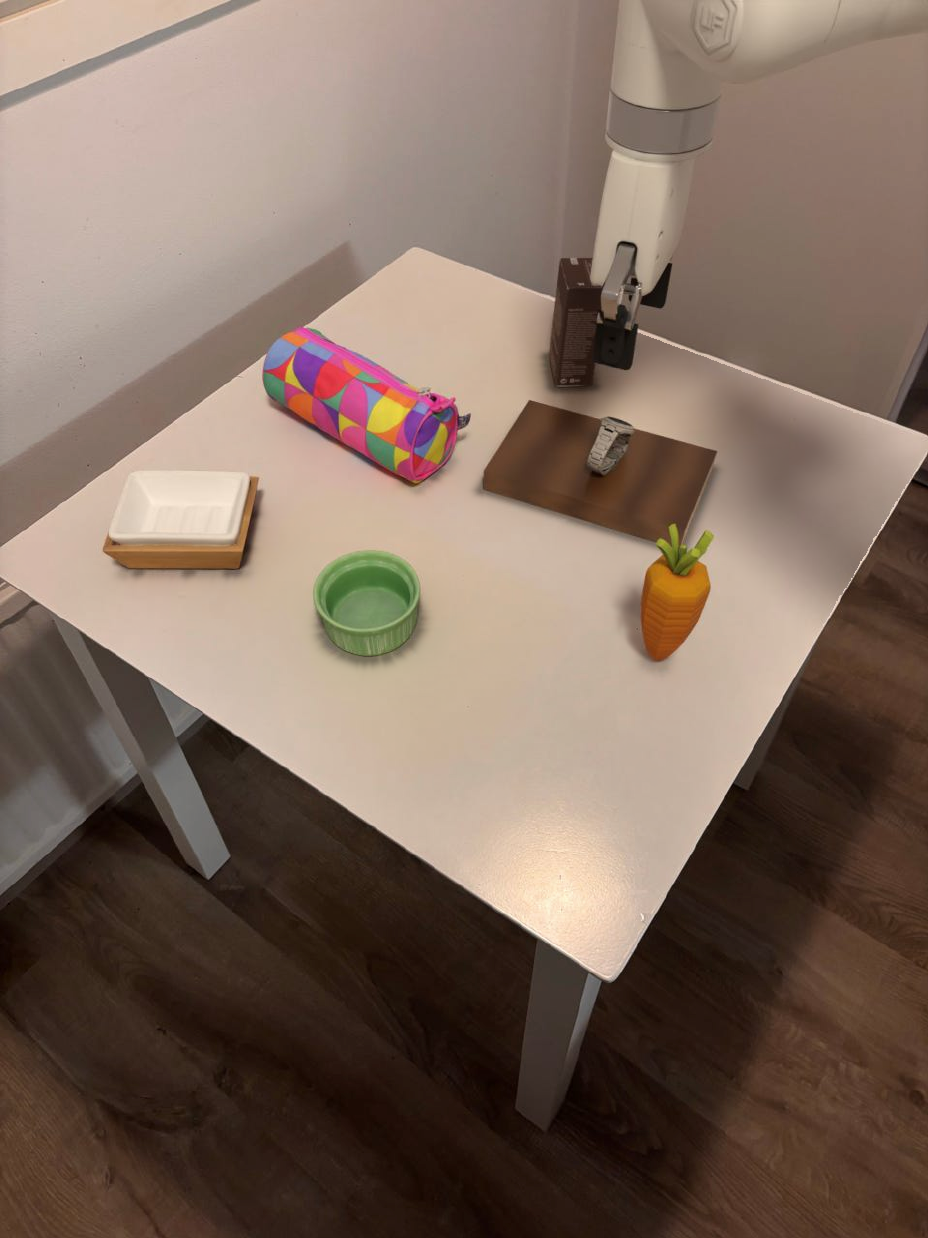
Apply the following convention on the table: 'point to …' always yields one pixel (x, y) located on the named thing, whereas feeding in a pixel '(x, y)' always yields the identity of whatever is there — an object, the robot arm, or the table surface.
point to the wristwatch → (609, 444)
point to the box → (574, 324)
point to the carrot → (673, 595)
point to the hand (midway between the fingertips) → (629, 333)
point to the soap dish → (182, 519)
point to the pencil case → (362, 403)
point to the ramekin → (368, 601)
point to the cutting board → (623, 498)
